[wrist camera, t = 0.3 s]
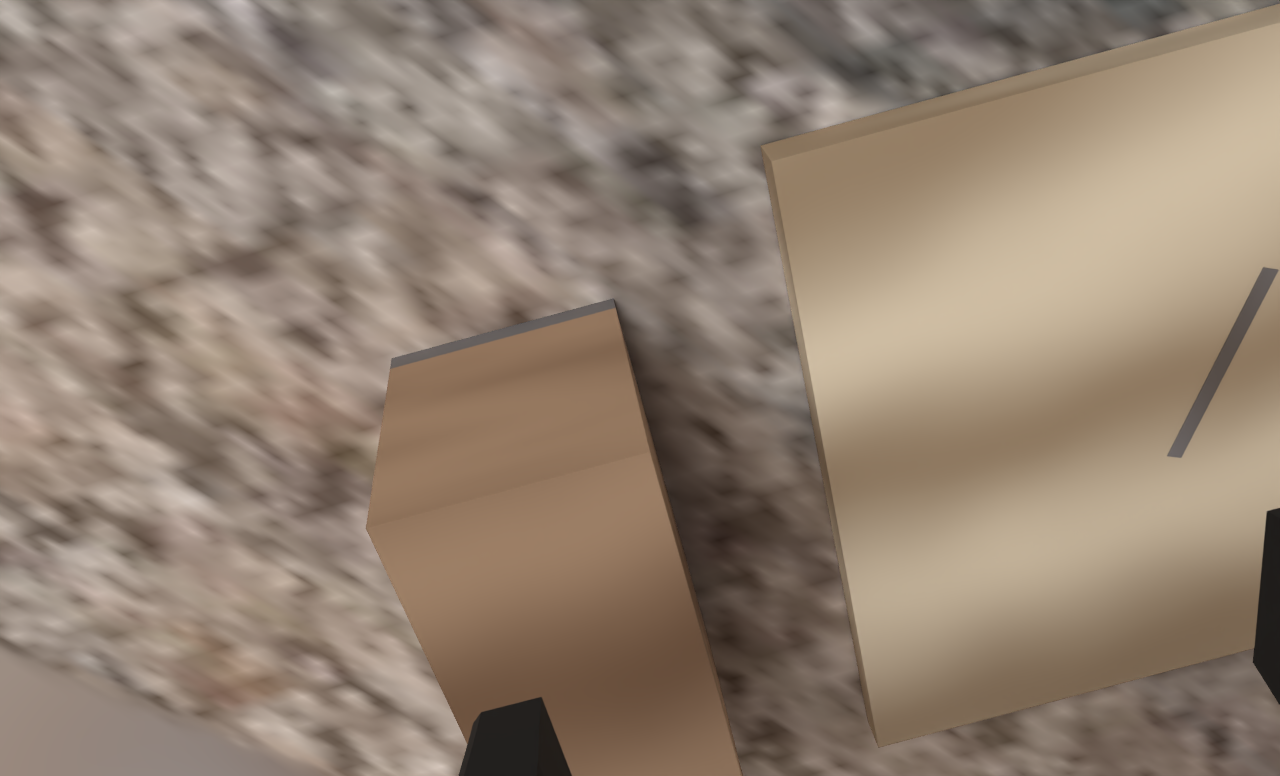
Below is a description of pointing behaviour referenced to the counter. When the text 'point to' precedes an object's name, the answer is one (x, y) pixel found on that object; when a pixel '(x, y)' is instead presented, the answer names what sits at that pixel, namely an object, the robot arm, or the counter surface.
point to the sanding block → (547, 546)
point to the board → (1045, 370)
